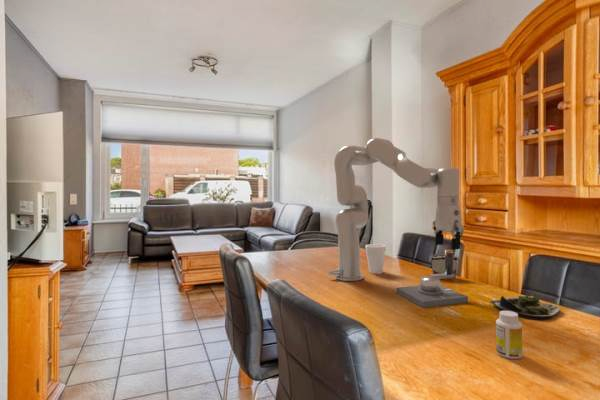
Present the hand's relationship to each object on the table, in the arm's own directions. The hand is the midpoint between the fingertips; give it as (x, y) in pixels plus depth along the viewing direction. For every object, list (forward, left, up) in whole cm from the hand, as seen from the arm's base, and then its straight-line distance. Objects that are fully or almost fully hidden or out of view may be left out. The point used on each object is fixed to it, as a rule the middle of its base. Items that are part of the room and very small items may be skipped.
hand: (447, 246), depth 135 cm
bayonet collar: (-5, 0, -15) cm, 16 cm away
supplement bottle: (-16, -45, -19) cm, 52 cm away
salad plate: (+13, -21, -19) cm, 32 cm away
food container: (+14, +24, -19) cm, 33 cm away
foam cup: (-10, +42, -19) cm, 47 cm away
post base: (-8, 0, -18) cm, 20 cm away
